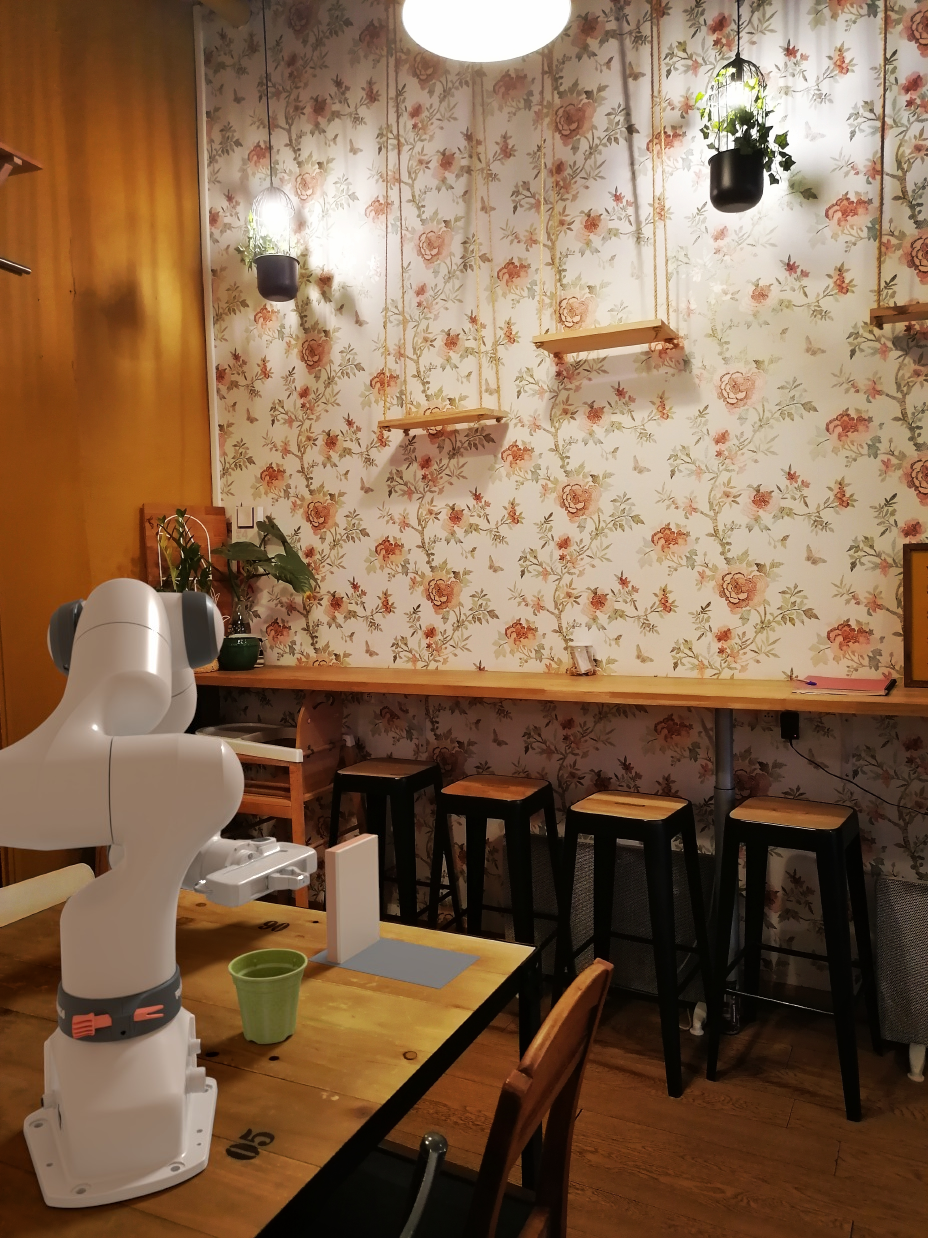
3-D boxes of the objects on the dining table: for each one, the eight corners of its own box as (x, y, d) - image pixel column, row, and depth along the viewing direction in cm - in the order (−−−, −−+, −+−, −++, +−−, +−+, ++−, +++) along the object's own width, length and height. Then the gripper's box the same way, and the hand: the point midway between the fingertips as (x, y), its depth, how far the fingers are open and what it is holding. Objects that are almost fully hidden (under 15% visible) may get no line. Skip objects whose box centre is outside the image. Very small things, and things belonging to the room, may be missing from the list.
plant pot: (227, 1022, 116) (225, 953, 116) (303, 1011, 119) (301, 943, 119) (232, 1058, 107) (230, 984, 107) (314, 1044, 110) (312, 972, 110)
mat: (307, 962, 134) (307, 960, 134) (355, 934, 145) (355, 932, 145) (440, 992, 124) (440, 989, 124) (481, 959, 135) (481, 956, 135)
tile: (327, 961, 134) (324, 850, 133) (366, 937, 143) (364, 833, 142) (341, 963, 133) (338, 852, 132) (379, 939, 142) (377, 835, 141)
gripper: (185, 868, 139) (257, 881, 133) (275, 834, 157) (342, 844, 151) (187, 909, 140) (258, 925, 133) (276, 871, 157) (343, 882, 151)
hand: (303, 881), depth 142 cm, fingers closed
